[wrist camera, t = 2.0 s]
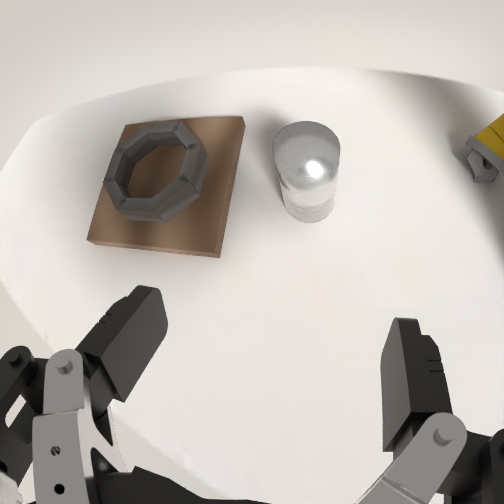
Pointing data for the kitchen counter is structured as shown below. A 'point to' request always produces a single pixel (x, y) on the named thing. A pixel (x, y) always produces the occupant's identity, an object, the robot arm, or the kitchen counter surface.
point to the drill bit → (488, 151)
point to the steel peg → (307, 169)
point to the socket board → (159, 176)
